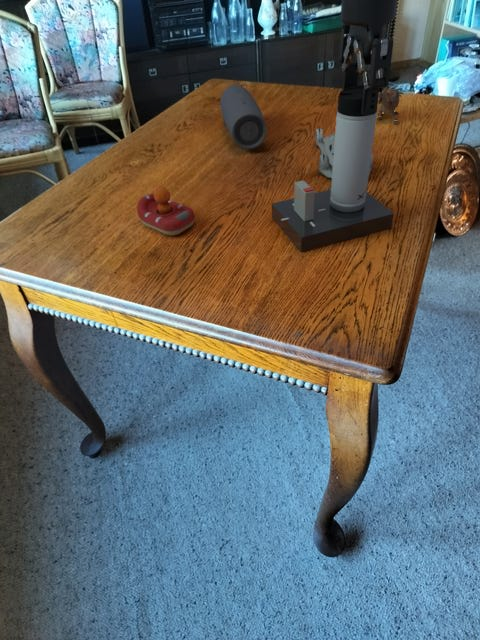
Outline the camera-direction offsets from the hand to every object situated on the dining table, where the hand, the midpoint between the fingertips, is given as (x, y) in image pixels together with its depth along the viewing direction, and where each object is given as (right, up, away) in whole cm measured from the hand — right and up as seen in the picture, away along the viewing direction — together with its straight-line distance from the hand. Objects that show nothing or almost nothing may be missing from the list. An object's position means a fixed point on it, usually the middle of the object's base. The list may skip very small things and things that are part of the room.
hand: (358, 105), depth 74 cm
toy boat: (-33, -16, +16) cm, 40 cm away
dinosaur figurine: (+20, +19, +50) cm, 57 cm away
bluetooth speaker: (-18, +13, +46) cm, 51 cm away
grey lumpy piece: (+4, +2, +32) cm, 33 cm away
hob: (-2, -16, +13) cm, 21 cm away
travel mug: (+1, -13, +12) cm, 18 cm away
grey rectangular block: (-7, -15, +10) cm, 19 cm away
